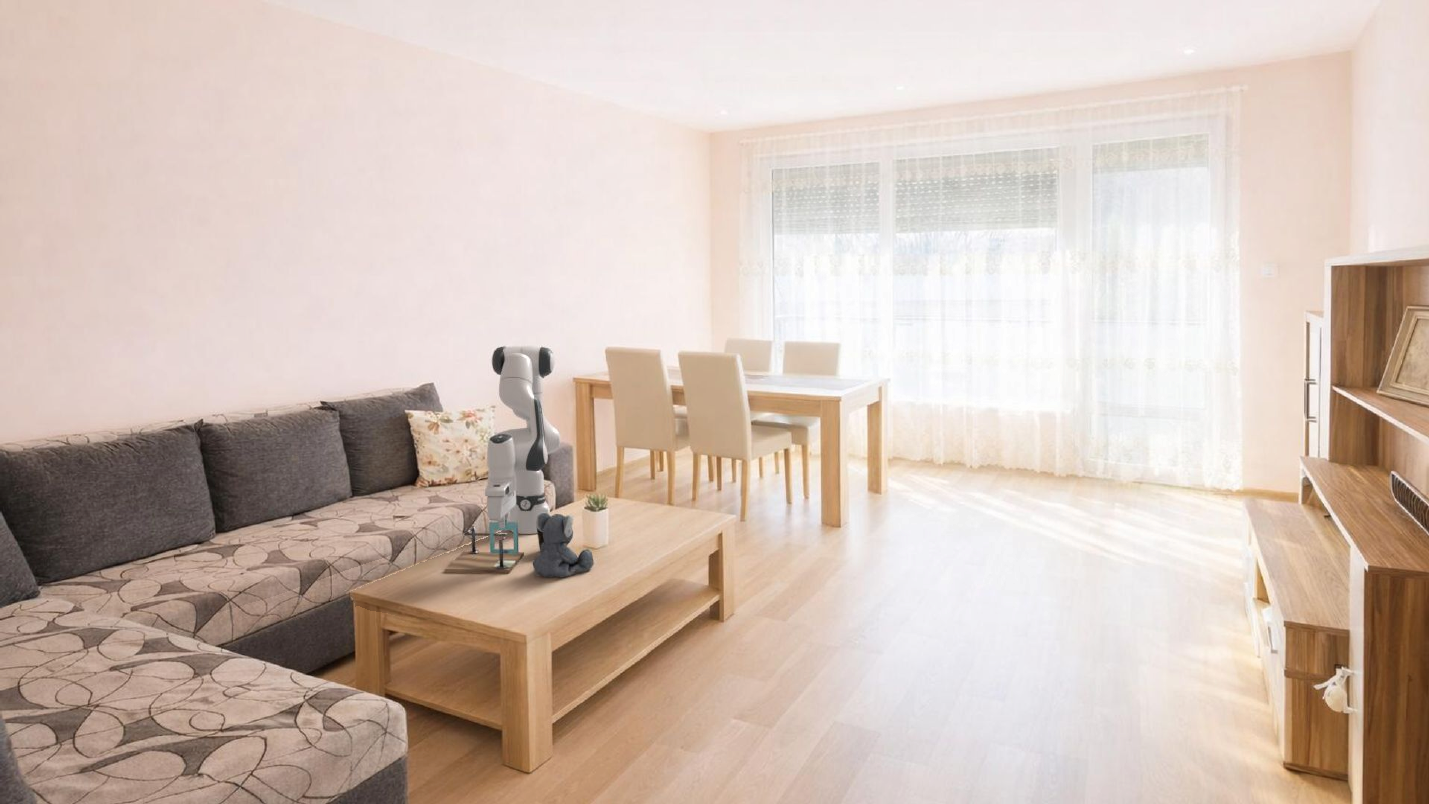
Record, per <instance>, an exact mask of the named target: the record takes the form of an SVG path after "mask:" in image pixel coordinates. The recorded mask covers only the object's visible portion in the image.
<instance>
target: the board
mask: <svg viewBox="0 0 1429 804" xmlns="http://www.w3.org/2000/svg"><path fill="white" fill-rule="evenodd" d="M469 552H470V551H462V552H461V553H460V554H459V555H458V556H456V558H455V559H454V560H453V561H452V562H451V563H449V564H448V565H447V566H446V567H445V568H444V573H447V574H448V573H450V574H452V573H453V574H455V573H456V574H509V575H510V573H511V572H512V571H513V570H514V568H515V567H516V566H517V565H518V564H519V562H520V561H521V560H522V559H523V558H524V557H525V552H523V551H519V553H518V554H503V565H506V568H505V569H497V566H499V565H500V560H499V553H490V551H479V552H478V553H476V554H470V553H469Z"/></svg>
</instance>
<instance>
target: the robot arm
mask: <svg viewBox="0 0 1429 804" xmlns="http://www.w3.org/2000/svg"><path fill="white" fill-rule="evenodd" d="M491 367H492V369H493V372H494V373H496V375H499V376H500V379H499V385H498V396H499V398H500V400H501V402H502V403H503V404H504V405H505V406H506V407H507V408H509V409H512V413H513V414H514V415H515V416H516V417H518V418H519V419H521V420H523V421H524V420H525V423H526V427H522V428H511V429H507V430H504V431H501V432H498V433H497V434H495V435H492V436H490V437H489V439H488V441H487V442H488V443H487V452H486V453H487V454H486V461H487V462H486V463H487V467H488V474H487V485H486V487H485V489H484V495H485V497H486V508H487V516H488V519H489V521H497V522H499V528H505V526H506V522H518V535H519V534H520V535H526V534H527V535H531V534H532V535H533V534H537V527H536V519H537V516H538V514H539V513H541V512H545V513H548V514H549V515H550V516H551V508H550V505H549V504H548V503H547V499H546V498H547V495H546V489H545V483H544V482H545V481H544V480H545V478H544V477H545V475H544V472H543V471H542V470H543V468H544V467H545V466H546V465H547V464H548V459H549V456H548V455H549V454H552V453H555V452H558V450H559V448H560V446H561V444H562V443H561V442H562V438H561V437H562V436H561V433H560V431H558V429H557V428H556V427H554V426H553V425H552V424H551V423H550V422H549V420H548V419H547V418H546V415H545V412H544V399H543V398H544V397H543V395H544V394H543V392H544V391H543V379H544V378H545V377H548V376H549V375H550V374H552V372H553V370H554V367H555V356H554V353H553V351H552V350H551V349H550V348H548V347H546V346H545V347H544V346H541V347H538V346H532V345H531V346H530V345H519V346H518V345H517V346H506V345H504V346H500V347H499V346H498V347H497V348H495V350H494V351H493V353H492V355H491ZM509 531H511V532H512V533H513V530H509Z"/></svg>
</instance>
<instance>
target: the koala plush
mask: <svg viewBox="0 0 1429 804" xmlns="http://www.w3.org/2000/svg"><path fill="white" fill-rule="evenodd" d="M573 523H574V515H571V514H570V515H566V516H565V515H564V514H561V513H555V514H553V515H551V514H550V515H549V514H548V513H545V512H541V513H539V514H538V516H537V519H536V527H537V529H539V530H540V531H541V532H543V538H544V542H543V543H542V544H541V547H540V548H539V553H538V555H537V556H535V557H534V559H533V561H532V567H533V569H534V572H535V575H536V576H539V577H542V578H552V577H555V578H559V579H560V578H565V577H570V576H572V575H573V574H580V573H581V574H582V573H584V572H585V573H586V572H587V571H589V570H590V569H592V568H593V566H594V565H595V563H594V557H593V551H592V550H591V549H588V548H586V549H583V550H581V552H579V555H577V553H575V552H574V551H573V550H572V549H571V548H570V547H569V546H568V545H569V544H570V543H571V541H572V539H573V537H574V529H573Z"/></svg>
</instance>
